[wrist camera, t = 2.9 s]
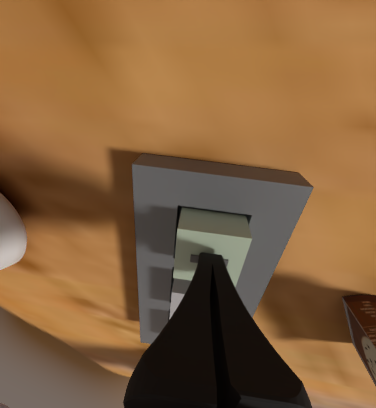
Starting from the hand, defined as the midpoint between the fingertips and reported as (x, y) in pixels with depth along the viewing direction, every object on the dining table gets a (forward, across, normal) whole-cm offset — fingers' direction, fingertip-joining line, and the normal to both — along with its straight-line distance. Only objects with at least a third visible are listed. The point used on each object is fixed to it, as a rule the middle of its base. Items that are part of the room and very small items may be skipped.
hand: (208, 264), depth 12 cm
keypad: (+5, 0, +6) cm, 8 cm away
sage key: (+3, 0, 0) cm, 3 cm away
